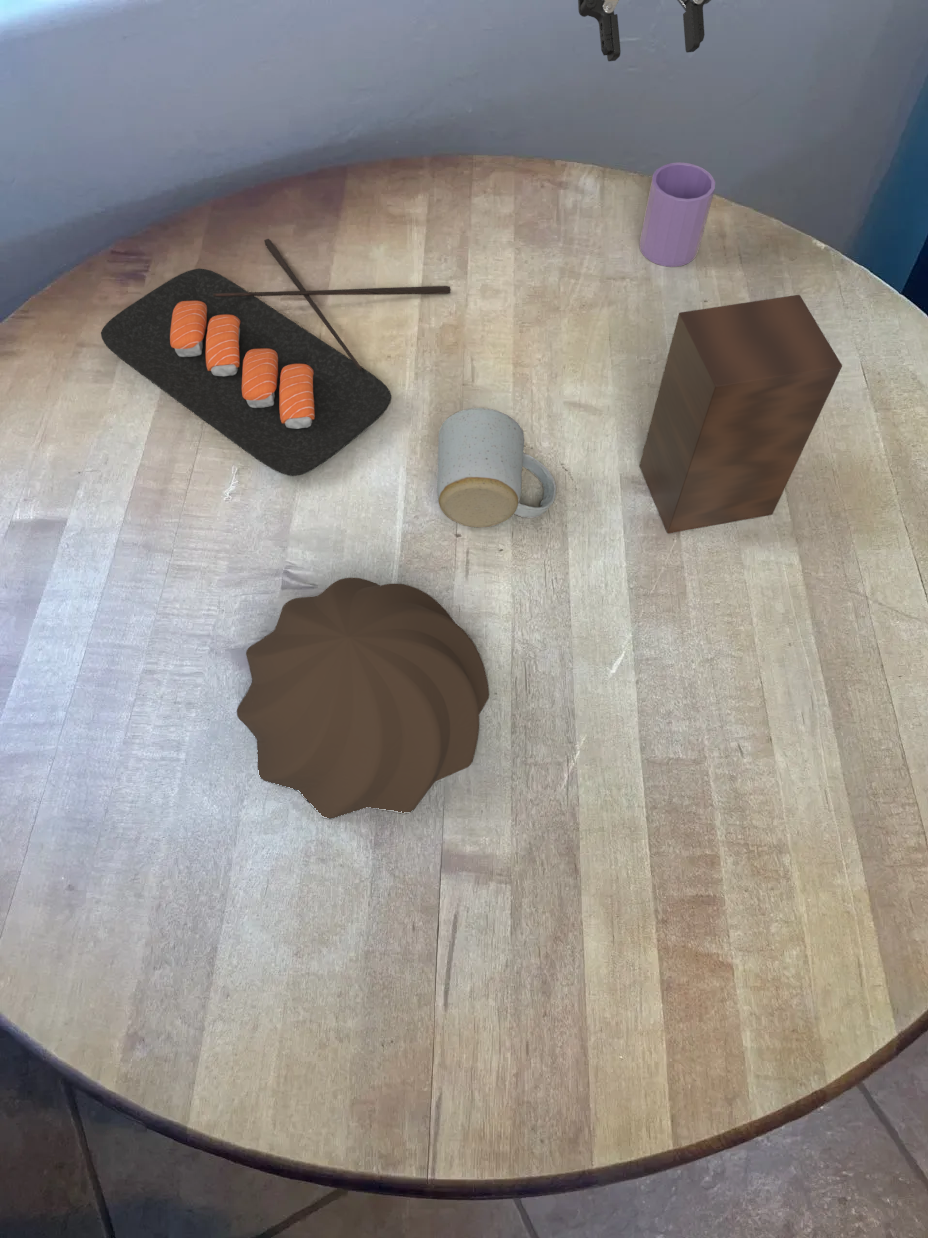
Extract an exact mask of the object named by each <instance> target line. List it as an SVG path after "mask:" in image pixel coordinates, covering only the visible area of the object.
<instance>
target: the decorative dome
mask: <svg viewBox="0 0 928 1238" xmlns="http://www.w3.org/2000/svg"><path fill="white" fill-rule="evenodd" d="M245 656H246V661H247V664H248V667H249V672H250V676H251V684H250V685H249V687H248V690H247V691H246V693H245V695H244V696H243V698H242V700H241V701H240V703H239V704H238V706H237V708H236V716H237V718H238V719H239V721H241V723H242V724H244V726H245V727H246V728H247V729H248V730H249V732H250V733H251V734H252V735H253V736H255V737H254V739H256V754H258V762H257V771H258V770H259V775H260V777H261V778H262V779H263V780H262V779H261V778H260V777H259V778H260V779H261V780H262V781H264V782H267V781H268V782H267V783H270V782H271V783H270V784H273V783H275V784H274V785H277V784H279V785H278V786H280V785H282V786H281V787H283V786H286V787H285V788H287V787H290V788H293V789H296V790H299V791H300V792H301V794H303V796H304V797H305V798H306V799H307V800H308V801H309V803H311V804H312V805H313V806H314V808H316V810H318V812H319V813H321V815H322V816H324V817H327V818H333V819H335V817H336V818H339V817H342V816H345V815H348V814H351V812H352V813H354V812H353V811H355V812H357V810H358V811H361V810H364V809H367V808H366V807H371V808H370V809H373V808H379V809H386V810H394V811H398V812H401V811H402V813H404V812H410V813H412V812H413V811H414V810H415V809H416V808H417V806H418V805H419V804H420V802H421V801H422V799H423V798H424V797H425V796H426V794H427V793H428V792H429V790H430V789H431V788H432V786H433V785H434V784H435V783H436V782H438V781H440V780H442V779H444V778H447V777H449V776H451V775H454V774H457V773H458V772H461V771H462V770H465V769H467V768H469V767H470V766H471V765H472V763H473V761H474V758H475V754H476V750H477V746H478V739H479V734H480V715H481V712H482V710H483V709H484V707H485V705H487V702H488V701H489V699H490V687H489V683H488V682H489V681H488V677H487V671H486V669H485V665H484V662H483V659H482V656H481V654H480V652H479V650H478V648H477V646H476V645H475V643H474V641H473V640H472V638H471V637H470V635H469V634H468V632H466V631H465V630H464V629H463V628H462V627H461V626H460V625H458V624H457V623H456V622H455V620H454V619H453V617H452V616H451V615H450V613H449V612H448V611H447V610H446V609H445V608H444V606H443V605H442V604H441V603H439V601H437V599H435V598H434V597H433V596H431V595H430V594H428V593H427V592H425V591H423V590H422V589H420V588H417V587H415V586H413V585H409V584H404V583H386V584H378V583H376V582H374V581H371V580H369V579H365V578H362V577H361V578H360V577H344V578H343V577H342V578H340V579H337V580H336V581H334V582H333V583H331V584H330V585H328V587H326V588H325V589H323V591H321V593H318V595H311V596H301V597H295V598H292V599H290V600H288V601H286V602H285V603H284V604H283V606H282V608H281V611H280V614H279V617H278V619H277V622H276V625H275V627H274V629H273V630H272V631H271V632H270V633H268V634H267V635H265V636H264V637H263V638H261V639H260V640H258V641H256V642H255V643H253V644H251V645H250V646H249V647H248V648H247V649H246V651H245ZM257 750H258V752H257ZM259 775H258V776H259ZM290 788H289V789H290ZM293 789H292V790H293ZM296 790H295V791H296ZM301 794H300V795H301ZM303 796H302V797H303ZM304 797H303V798H304ZM305 798H304V799H305ZM306 799H305V800H306ZM307 800H306V801H307ZM309 803H308V804H309ZM314 808H313V809H314ZM363 808H364V809H363ZM360 809H361V810H360ZM316 810H315V811H316ZM412 810H413V811H412ZM411 811H412V812H411ZM347 813H348V814H347ZM344 814H345V815H344ZM341 815H342V816H341ZM338 816H339V817H338Z"/></svg>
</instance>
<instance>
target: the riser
mask: <svg viewBox="0 0 928 1238" xmlns="http://www.w3.org/2000/svg"><path fill="white" fill-rule="evenodd" d="M668 350H669V351H668V354H667V357H666V361H665V365H664V369H663V374H662V376H661V380H660V385H659V387H658V388H659V389H658V392H657V396H656V400H655V404H654V408H653V412H652V415H651V420H650V423H649V427H648V431H647V435H646V438H645V442H644V446H643V450H642V454H641V458H640V462H639V465H638V466H639V470H640V471H641V473H642V476H643V478H644V481H645V483H646V486H647V488H648V490H649V493H650V495H651V499H652V500H653V503H654V505H655V507H656V510H657V512H658V514H659V517H660V519H661V521H662V525H663V526H664V529H665V531H666V533H667V534H674V533H680V532H684V531H685V532H686V531H690V530H697V529H701V528H707V527H712V526H717V525H723V524H729V523H734V522H735V523H736V522H739V521H746V520H750V519H757V518H763V517H767V516H772V515H773V514H774V512H775V511H776V508H777V506H778V505H779V502H780V499H781V498H782V496H783V493H784V491H785V488H786V487H787V485H788V483H789V480H790V478H791V476H792V475H793V473H794V470H795V468H796V466H797V464H798V461H799V459H800V457H801V455H802V452H803V451H804V449H805V446H806V444H807V442H808V440H809V438H810V436H811V433H812V432H813V430H814V427H815V425H816V423H817V421H818V419H819V416H820V415H821V413H822V410H823V408H824V407H825V404H826V402H827V400H828V397H829V395H830V394H831V391H832V389H833V387H834V385H835V383H836V381H837V379H838V377H839V374H840V373H841V370H842V368H843V364H842V362H841V361H840V359H839V358H838V356H837V354H836V352H835V351H834V349H833V348H832V346H831V344H830V342H829V341H828V339H827V337H826V336H825V334H824V333H823V330H822V329H821V328H820V325H819V324H818V323H817V321H816V320H815V317H814V316H813V314H812V313H811V311H810V309H809V307H808V305H807V304H806V303H805V301H804V299H803V298H802V296H801V295H800V294H794V295H788V296H787V295H785V296H781V297H774V298H767V299H761V300H755V301H748V302H741V303H740V302H739V303H734V304H733V303H732V304H728V305H727V304H726V305H721V306H714V307H713V306H712V307H708V308H700V309H693V310H687V311H681V312H679V313H678V316H677V319H676V324H675V327H674V330H673V335H672V338H671V342H670V346H669V349H668Z"/></svg>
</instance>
